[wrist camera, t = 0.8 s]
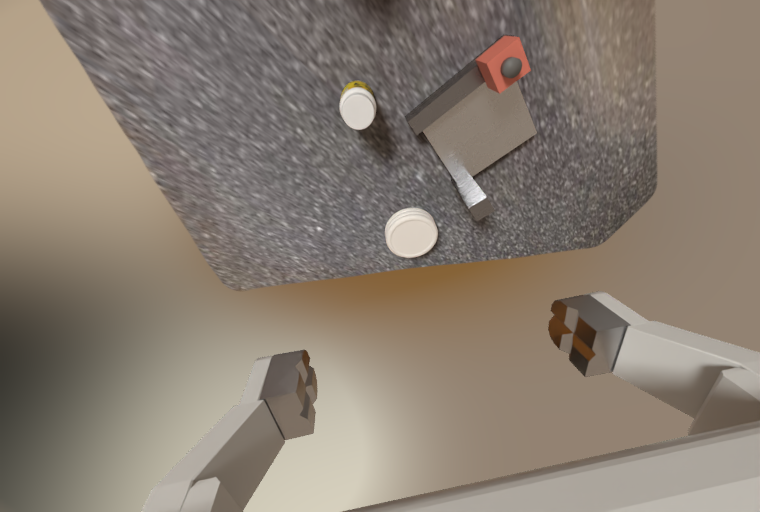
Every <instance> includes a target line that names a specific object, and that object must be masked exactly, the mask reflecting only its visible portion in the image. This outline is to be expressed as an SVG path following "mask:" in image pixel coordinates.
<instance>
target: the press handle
mask: <svg viewBox="0 0 760 512" xmlns="http://www.w3.org/2000/svg"><path fill="white" fill-rule="evenodd" d="M476 63H477V65H478V67H479V69H480V71H481V74H482V76H483V78H484V80H485V82H486V85H487V87H488V88H489V89H491V90H493V91H495V92H497V93H499V94H500V93H501V92H503V91H504V90H505V89H507V88H508V87H509V86H511V85H512V84H513V83H515V82H516V81H517V80H519V79H520V78H521V77H523V76H524V75H525V74H527V73H528V72H529V71H531V69H530V67H529V64H528V61H527V58H526V55H525V52H524V50H523V47H522V44H521V41H520V38H519V37H513V36H503V37H502V38H501V39H500V40H499V41H497V42H496V43H495V44H494V45H493V46H491V47H490V48H489V49H488V50H487V51H485V52H484V53H483V54H482V55H481V56H479V57H478V58H477V59H476Z"/></svg>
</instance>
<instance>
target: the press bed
mask: <svg viewBox="0 0 760 512" xmlns="http://www.w3.org/2000/svg"><path fill="white" fill-rule="evenodd" d="M503 36H512V35H503ZM503 36H501V37H500V38H499V39H498V40H497V41H499V40H500V39H501V38H502V37H503ZM513 37H514V36H513ZM497 41H495V42H494V43H493V44H492V45H491V46H493V45H494V44H495V43H496V42H497ZM491 46H489V47H488V48H487V49H486V50H485V51H487V50H488V49H489V48H490V47H491ZM485 51H483V52H482V53H481V54H480V55H479V56H481V55H482V54H483V53H484V52H485ZM479 56H477V57H476V58H475V59H474V60H473V61H471V62H470V63H469V64H468V65H466V66H465V67H464V68H463V69H462V70H460V71H459V72H458V73H457V74H456V75H454V76H453V77H452V78H451V79H450V80H448V81H447V82H446V83H445V84H444V85H442V86H441V87H440V88H439V89H438V90H436V91H435V92H434V93H433V94H431V95H430V96H429V97H428V98H427V99H425V100H424V101H423V102H422V103H421V104H419V105H418V106H417V107H416V108H415V109H413V110H412V111H411V112H410V113H409V114H407V115H406V116H405V118H406V120H407V122H408V123H409V125H410V126H411V128H412V129H413V131H414V132H415V134H416V135H418V134H419V133H421V132H422V131H423V133H424V134H425V136H426V137H427V139H428V140H429V142H430V143H431V145H432V146H433V148H434V149H435V151H436V152H437V154H438V156H439V157H440V159H441V160H442V162H443V163H444V165H445V166H446V168H447V169H448V171H449V172H450V174H451V175H452V177H453V179H451V181H452V183H453V184H454V186H455V187H456V189H457V191H458V192H459V194H460V196H461V197H462V199H463V201H464V202H465V204H466V205H467V207H468V209H469V210H470V212H471V213H472V215H473V216H474V218H475V219H476V221H479V220H481V219H482V218H484V217H485V216H487V215H489V214H490V213H492V212H494V211H495V210H494V208H493V207H492V205H491V203H490V202H489V200H488V198H487V197H486V195H485V194H484V193H483V191H482V190H481V189H480V187H479V186H478V185H477V183H476V182H475V181H474V179H473V178H472V177H473V176H474V175H476V174H477V173H479V172H480V171H482V170H483V169H484V168H486V167H487V166H489V165H490V164H492V163H493V162H495V161H496V160H498V159H499V158H501V157H502V156H504V155H505V154H507V153H508V152H510V151H511V150H513V149H514V148H516V147H517V146H519V145H520V144H522V143H523V142H525V141H526V140H528V139H529V138H531V137H532V136H534V135H535V134H537V132H536V129H535V127H534V124H533V121H532V119H531V116H530V114H529V111H528V109H527V106H526V103H525V101H524V98H523V96H522V93H521V91H520V88H519V85H518V83H517V81H516V82H515V83H513V84H512V85H511V86H509V87H508V88H507V89H505V90H504V91H503V92H501V93H500V94H499V93H497V92H495V91H493V90H491V89H489V88H488V87H487V85H486V82H485V80H484V78H483V76H482V74H481V71H480V69H479V67H478V65H477V63H476V59H477V58H478V57H479Z"/></svg>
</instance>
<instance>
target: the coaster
mask: <svg viewBox="0 0 760 512" xmlns="http://www.w3.org/2000/svg"><path fill="white" fill-rule="evenodd" d="M385 236H386V243H387V246H388V248H389V249H390V250H391V251H392V252H393V253H394V254H396V255H398V256H400V257H405V258H413V257H418V256H421V255H423V254H425V253H427V252H428V251H429V250H430V249H431V248H432V247H433V246H434V245H435V243H436V241H437V237H438V230H437V226H436V224H435V222H434V219H433V217H432V216H431V215H430V214H429V213H428V212H426V211H425V210H422V209H419V208H406V209H402V210H400V211H398V212H396V213H395V214H394V215H392V217H391V218H390V219H389V220H388V222H387V224H386V227H385Z"/></svg>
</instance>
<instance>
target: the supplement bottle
mask: <svg viewBox="0 0 760 512" xmlns="http://www.w3.org/2000/svg"><path fill="white" fill-rule="evenodd" d="M340 113H341V116H342V118H343V119H344V121H345V123H346V124H347V125H348V126H349V127H351V128H353V129H356V130H362V129H365V128H367V127H368V126H369V125H370V124H371V123H372V121H373V119H374V117H375V115H376V101H375V98H374V94H373V91H372V89H371V88H370V86H369V85H368V84H366V83H365V82H363V81H359V80H355V81H351V82H349V83H348V84H347V85H346V86H345V87H344V89H343V91H342V94H341V99H340Z"/></svg>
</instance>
